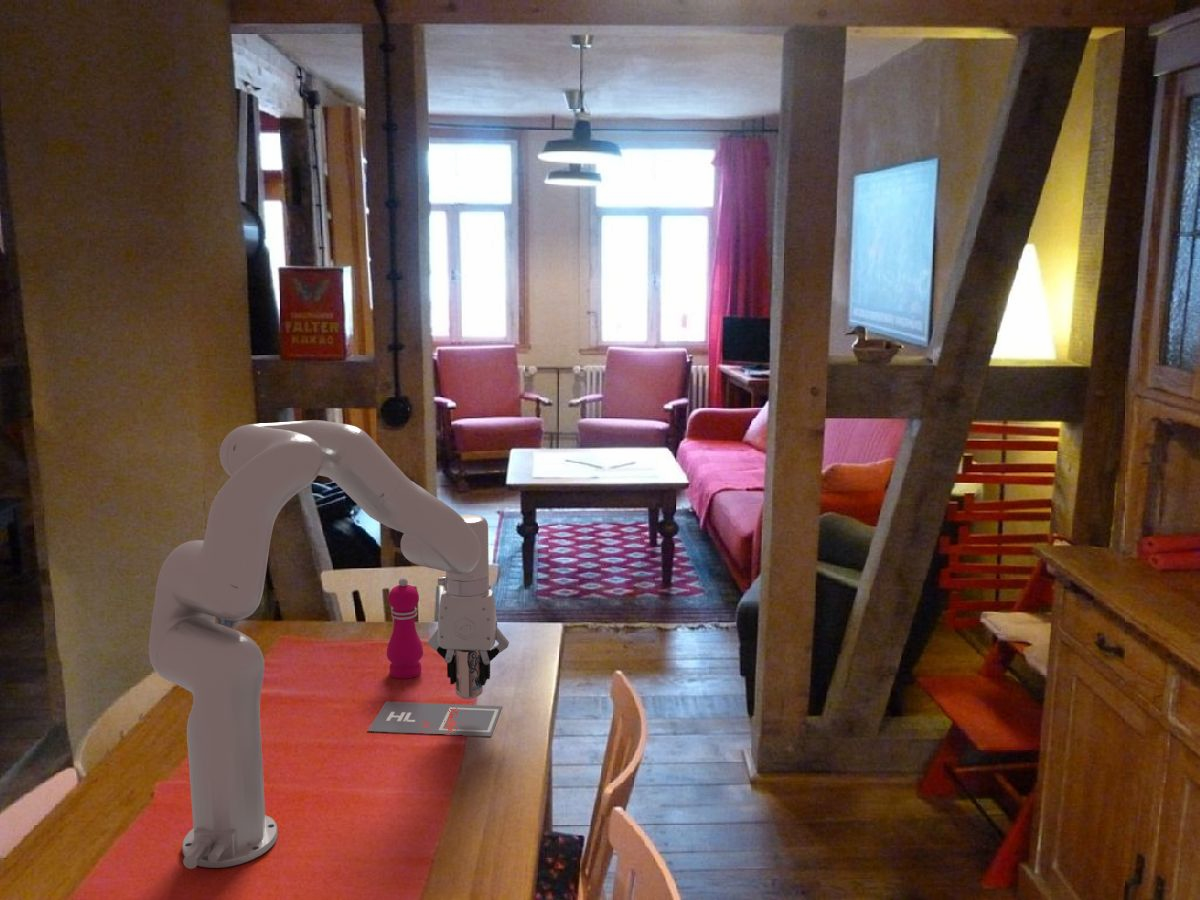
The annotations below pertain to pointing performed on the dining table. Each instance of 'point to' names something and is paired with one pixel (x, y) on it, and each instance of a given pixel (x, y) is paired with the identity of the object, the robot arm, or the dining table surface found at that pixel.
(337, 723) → the dining table surface
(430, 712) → the slate board
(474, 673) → the beer can
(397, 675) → the pepper mill
